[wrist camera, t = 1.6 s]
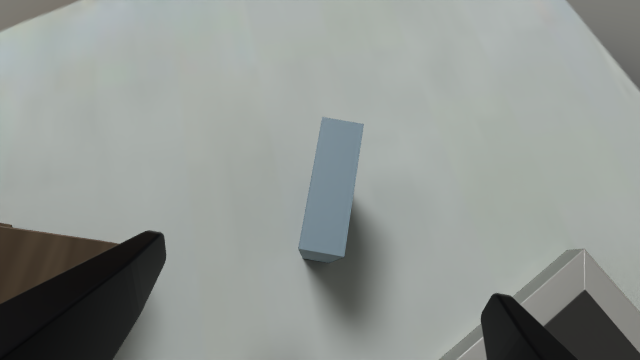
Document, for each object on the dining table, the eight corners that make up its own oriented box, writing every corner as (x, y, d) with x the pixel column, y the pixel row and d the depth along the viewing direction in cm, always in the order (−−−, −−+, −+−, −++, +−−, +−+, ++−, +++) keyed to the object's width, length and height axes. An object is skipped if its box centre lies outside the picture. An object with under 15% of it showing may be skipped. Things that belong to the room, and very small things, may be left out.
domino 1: (126, 245, 20) (-8, 225, 12) (98, 335, 19) (-77, 389, 10) (100, 240, 20) (-54, 217, 12) (70, 330, 19) (-129, 380, 10)
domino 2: (341, 182, 22) (363, 124, 13) (329, 263, 20) (344, 256, 12) (317, 178, 22) (322, 117, 13) (302, 258, 20) (298, 248, 12)
